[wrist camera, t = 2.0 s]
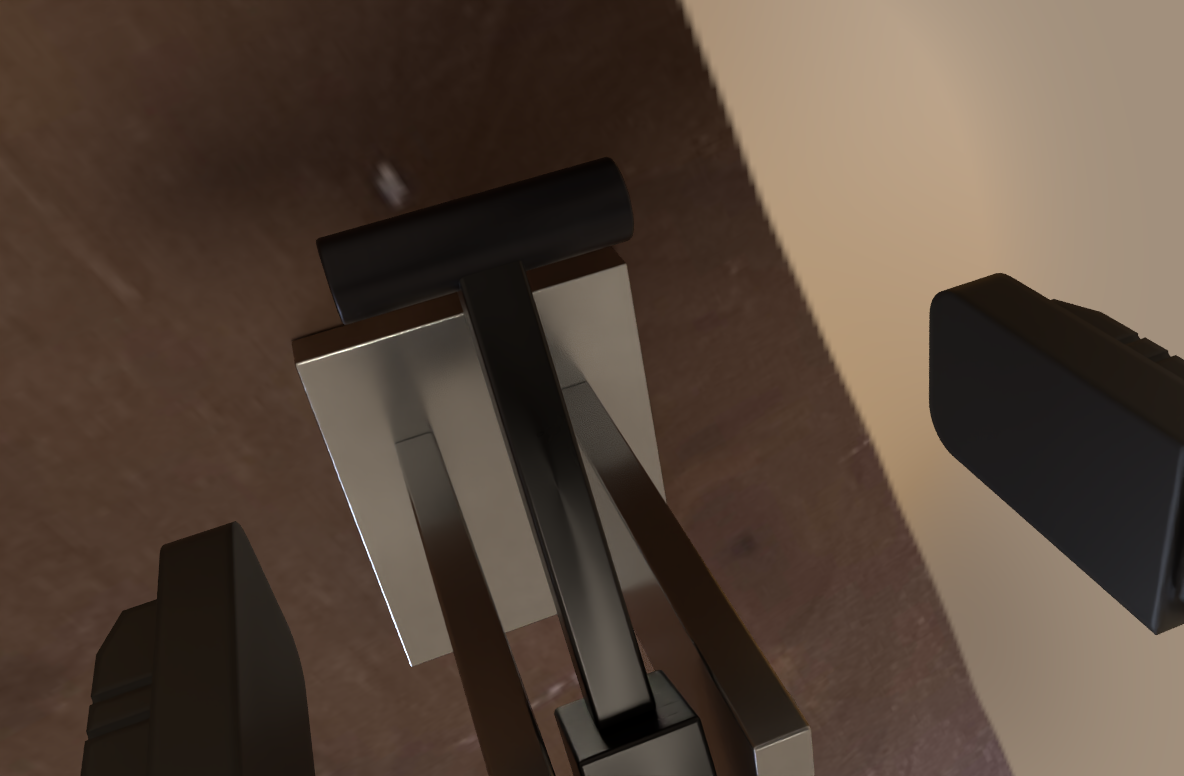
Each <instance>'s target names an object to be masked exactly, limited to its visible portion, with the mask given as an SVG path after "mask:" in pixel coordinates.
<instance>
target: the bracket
mask: <svg viewBox="0 0 1184 776" xmlns="http://www.w3.org/2000/svg"><path fill="white" fill-rule="evenodd" d="M526 274H527V277H528V280H529V284H530V287H531V290H532V294H533V297H534V300H535V303H536V307H537V310H538V313H539V317H540V320H541V323H542V327H543V330H544V333H545V337H546V340H547V343H548V347H549V350H550V353H551V357H552V360H553V363H554V367H555V370H556V373H557V377H558V380H559V383H560V387H561V390H562V393H563V397H564V400H565V403H566V407H567V410H568V413H569V417H570V420H571V423H572V427H573V430H574V433H575V437H576V440H577V443H578V447H579V450H580V453H581V457H582V460H583V463H584V467H585V470H586V473H587V477H588V480H589V483H590V487H591V490H592V493H593V497H594V500H595V503H596V507H597V510H598V513H599V517H600V520H601V523H602V527H603V530H604V533H605V537H606V540H607V543H608V547H609V550H610V553H611V557H612V560H613V563H614V567H615V570H616V573H617V576H618V580H619V583H620V586H621V590H622V593H623V596H624V600H625V603H626V606H627V610H628V613H629V616H630V620H631V623H632V626H633V629H634V631H635V633H636V635H637V637H638V639H639V641H640V643H641V645H642V646H643V648H644V650H645V652H646V654H647V656H648V658H649V660H650V662H651V664H652V666H653V668H654V670H655V671H657V670H662V671H663V672H664V673H665V674H666V676H667V677H668V678H669V679H670V681H671V682H672V683H673V685H674V686H675V687H676V688H677V690H678V691H679V692H680V693H681V695H682V696H683V697H684V699H685V700H686V701H687V702H688V704H689V705H690V706H691V707H692V709H693V710H694V711H695V713H696V714H697V715H698V716H699V718H700V719H701V722H702V726H703V729H704V733H705V736H706V739H707V743H708V746H709V750H710V753H711V756H712V760H713V763H714V767H715V770H716V773H717V776H815V775H814V763H813V748H812V738H811V727H810V726H809V724H808V722H807V721H806V719H805V718H804V716H803V715H802V713H801V711H800V709H799V708H798V706H797V704H796V702H795V701H794V699H793V697H792V696H791V695H790V693H789V692H788V691H787V690H786V688H785V687H784V685H783V684H782V682H781V681H780V679H779V677H778V676H777V674H776V673H775V671H774V670H773V668H772V667H771V665H770V663H769V662H768V660H767V659H766V657H765V656H764V654H763V653H762V651H761V650H760V648H759V646H758V645H757V643H756V642H755V640H754V639H753V637H752V636H751V634H750V632H749V631H748V629H747V628H746V626H745V625H744V623H743V622H742V620H741V618H740V617H739V615H738V614H737V612H736V611H735V609H734V608H733V606H732V604H731V603H730V601H729V600H728V598H727V597H726V595H725V594H724V592H723V591H722V589H721V587H720V586H719V584H718V583H717V581H716V580H715V578H714V577H713V575H712V573H711V572H710V570H709V569H708V567H707V566H706V564H705V563H704V561H703V559H702V558H701V556H700V555H699V553H698V552H697V550H696V549H695V547H694V546H693V544H692V542H691V541H690V539H689V538H688V536H687V535H686V533H685V532H684V530H683V528H682V527H681V525H680V524H679V522H678V521H677V519H676V518H675V516H674V514H673V513H672V511H671V510H670V508H669V507H668V505H667V501H666V495H665V489H664V483H663V477H662V471H661V465H660V459H659V453H658V447H657V441H656V435H655V429H654V423H653V417H652V411H651V405H650V399H649V393H648V387H647V381H646V375H645V369H644V363H643V357H642V351H641V345H640V339H639V333H638V327H637V321H636V316H635V310H634V304H633V298H632V292H631V286H630V280H629V274H628V268H627V264H626V262H625V261H624V260H623V259H622V258H621V257H620V256H619V255H618V253H617V252H616V251H615V250H614V249H613V248H612V247H611V246H609V247H605V248H602V249H599V250H595V251H592V252H589V253H585V254H582V255H579V256H575V257H572V258H569V259H565V260H562V261H559V262H555V263H552V264H549V265H545V266H542V267H538V268H535V269H532V270H528V271H526ZM292 349H293V355H294V362H295V366H296V369H297V371H298V374H299V377H300V379H301V382H302V384H303V387H304V390H305V392H306V395H307V397H308V400H309V403H310V405H311V408H312V411H313V413H314V416H315V418H316V421H317V424H318V426H319V429H320V431H321V434H322V437H323V439H324V442H325V444H326V447H327V450H328V452H329V455H330V457H331V460H332V463H333V465H334V468H335V470H336V473H337V476H338V478H339V481H340V483H341V486H342V489H343V491H344V494H345V496H346V499H347V502H348V504H349V507H350V510H351V512H352V515H353V517H354V520H355V523H356V525H357V528H358V530H359V533H360V536H361V538H362V541H363V543H364V546H365V549H366V551H367V554H368V556H369V559H370V562H371V564H372V567H373V569H374V572H375V575H376V577H377V580H378V582H379V585H380V588H381V590H382V593H383V596H384V598H385V601H386V603H387V606H388V609H389V611H390V614H391V616H392V619H393V622H394V624H395V627H396V629H397V632H398V635H399V637H400V640H401V642H402V645H403V648H404V650H405V653H406V655H407V658H408V661H409V663H410V665H411V666H416V665H418V664H421V663H424V662H427V661H429V660H432V659H435V658H438V657H440V656H443V655H446V654H449V653H452V652H453V653H454V656H455V660H456V663H457V667H458V670H459V674H460V677H461V681H462V684H463V688H464V691H465V695H466V698H467V702H468V705H469V709H470V712H471V716H472V719H473V723H474V726H475V730H476V733H477V737H478V740H479V744H480V747H481V751H482V754H483V758H484V761H485V765H486V768H487V772H488V775H489V776H555V773H554V770H553V767H552V764H551V761H550V759H549V756H548V753H547V750H546V747H545V745H544V742H543V739H542V736H541V733H540V730H539V728H538V725H537V722H536V719H535V716H534V713H533V711H532V708H531V705H530V702H529V699H528V696H527V694H526V691H525V688H524V685H523V682H522V680H521V677H520V674H519V671H518V668H517V665H516V663H515V660H514V657H513V654H512V651H511V648H510V646H509V643H508V640H507V637H506V634H505V633H507V632H510V631H512V630H515V629H518V628H521V627H523V626H526V625H529V624H532V623H535V622H537V621H540V620H543V619H546V618H548V617H551V616H554V615H557V611H556V608H555V604H554V601H553V598H552V595H551V592H550V588H549V585H548V582H547V579H546V576H545V572H544V569H543V566H542V563H541V559H540V556H539V553H538V550H537V547H536V543H535V540H534V537H533V534H532V530H531V527H530V524H529V521H528V518H527V514H526V511H525V508H524V505H523V502H522V498H521V495H520V492H519V489H518V485H517V482H516V479H515V476H514V473H513V469H512V466H511V463H510V460H509V456H508V453H507V450H506V447H505V444H504V440H503V437H502V434H501V431H500V428H499V424H498V421H497V418H496V415H495V411H494V408H493V405H492V402H491V399H490V395H489V392H488V389H487V386H486V382H485V379H484V376H483V373H482V370H481V366H480V363H479V360H478V357H477V354H476V350H475V347H474V344H473V341H472V337H471V334H470V331H469V328H468V325H467V321H466V318H465V315H464V312H463V309H462V305H461V302H460V299H459V296H458V292H455V293H451V294H448V295H445V296H441V297H438V298H435V299H431V300H428V301H425V302H421V303H418V304H415V305H411V306H408V307H405V308H401V309H398V310H395V311H391V312H388V313H385V314H381V315H378V316H375V317H371V318H368V319H364V320H361V321H358V322H354V323H351V324H348V325H344V326H341V327H338V328H334V329H331V330H328V331H324V332H321V333H318V334H314V335H311V336H308V337H304V338H301V339H298V340H294V341H292Z"/></svg>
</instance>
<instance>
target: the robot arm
mask: <svg viewBox="0 0 1184 776" xmlns="http://www.w3.org/2000/svg"><path fill="white" fill-rule="evenodd" d="M929 323H930V325H929V326H930V327H929V328H930V329H929V332H930V333H929V348H930V349H929V408H930V413H931V418H932V422H933V425H934V427H935V430H936V432H937V435H938V436H939V438H940V440H941V442H942V443H943V445H944V446H945V448H946V449H947V450H948V451H949V452H950V453H951V454H952V456H954V457H955V458H956V459H957V460H958V461H959V462H960V463H962V464H963V465H964V466H965V467H966V468H967V469H968V470H969V471H971V472H972V473H973V474H974V475H975V476H976V477H977V478H978V479H980V480H981V481H982V482H983V483H984V484H985V485H986V486H988V487H989V488H990V489H991V490H992V491H993V492H994V493H995V494H997V495H998V496H999V497H1000V498H1001V499H1002V500H1003V501H1005V502H1006V503H1007V504H1008V505H1009V506H1010V507H1012V509H1014V510H1015V511H1016V512H1017V513H1018V514H1019V515H1020V516H1022V517H1023V518H1024V519H1025V520H1026V521H1027V522H1028V523H1029V524H1031V525H1032V526H1033V527H1034V528H1035V529H1036V530H1037V531H1038V532H1040V533H1041V534H1042V535H1043V536H1044V537H1045V538H1047V539H1048V540H1049V541H1050V542H1051V543H1052V544H1053V545H1054V546H1056V547H1057V548H1058V549H1059V550H1060V551H1061V552H1062V553H1063V554H1065V555H1066V556H1067V557H1068V558H1069V559H1070V560H1071V561H1073V562H1074V563H1075V564H1076V565H1077V566H1078V567H1079V568H1080V569H1082V570H1083V571H1084V572H1085V573H1086V574H1087V575H1088V576H1090V577H1091V578H1092V579H1093V580H1094V581H1095V582H1096V583H1098V584H1099V585H1100V586H1101V587H1102V588H1103V589H1104V590H1105V591H1107V592H1108V593H1109V594H1110V595H1111V596H1112V597H1113V598H1115V599H1116V600H1117V601H1118V602H1119V603H1120V604H1121V605H1122V606H1123V607H1125V608H1126V609H1127V610H1128V611H1129V612H1130V613H1131V614H1132V615H1134V616H1135V617H1136V618H1137V619H1138V620H1139V621H1140V622H1142V623H1143V624H1144V625H1145V626H1146V627H1147V628H1148V629H1150V630H1151V631H1152V632H1153V633H1154V634H1155V635H1158V634H1160V633H1162V632H1165V631H1167V630H1170V629H1172V628H1175V627H1177V626H1180V625H1182V624H1184V360H1183V359H1182V358H1180V357H1178V356H1176V355H1175V356H1172V357H1170V355H1169V354H1168V350H1166V349H1164V348H1163V347H1161V346H1159V345H1157V344H1156V343H1154V342H1152V341H1150V340H1149V339H1147V338H1143V339H1140V338H1139V336H1138V333H1137V332H1135V331H1133V330H1131V329H1130V328H1128V327H1126V326H1124V325H1123V324H1121V323H1119V322H1117V321H1116V320H1114V319H1112V318H1110V317H1109V316H1107V315H1105V314H1103V313H1101V312H1099V311H1095V310H1091V309H1087V308H1084V307H1081V306H1077V305H1074V304H1070V303H1066V302H1063V301H1059V300H1056V299H1053V300H1049V299H1047V298H1046V297H1044V296H1042V295H1041V294H1039V293H1038V292H1036V291H1034V290H1032V289H1031V288H1029V287H1027V286H1026V285H1024V284H1022V283H1021V282H1019V281H1017V280H1016V279H1014V278H1012V277H1011V276H1008V275H1006V274H1003V273H996V274H993V275H990V276H987V277H984V278H981V279H978V280H975V281H972V282H969V283H966V284H962V285H959V286H956V287H953V288H950V289H947V290H944V291H941V292H939V293H938V294H936V295H935V297H934V298H933V300H932V303H931V307H930V322H929ZM91 698H92V701H93V704H92V705H90V707H89V715H88V722H87V730H86V733H87V735H88V740H87V741H85V746H84V753H83V761H82V769H81V776H315V770H314V761H313V752H312V743H311V733H310V724H309V715H308V706H307V697H306V688H305V681H304V675H303V671H302V666H301V662H300V658H299V655H298V651H297V648H296V645H295V642H294V639H293V636H292V634H291V631H290V629H289V627H288V624H287V622H286V620H285V618H284V616H283V613H282V611H281V609H280V607H279V605H278V603H277V600H276V598H275V596H274V594H273V592H272V590H271V588H270V585H269V583H268V581H267V579H266V577H265V575H264V572H263V570H262V568H261V566H260V564H259V562H258V559H257V557H256V555H255V553H254V551H253V549H252V547H251V544H250V542H249V540H248V538H247V536H246V534H245V532H244V530H243V529H242V527H241V526H240V525H239V524H238V523H237V522H236V521H235V522H232V523H229V524H226V525H223V526H220V527H217V528H213V529H210V530H207V531H204V532H201V533H198V534H195V535H192V536H189V537H186V538H183V539H180V540H177V541H174V542H171V543H168V544H165V545H163V546H162V548H161V550H160V560H159V576H158V592H157V599H156V600H153V601H150V602H147V603H144V604H142V605H139V606H136V607H133V608H130V609H127V610H124V611H122V613H121V614H120V616H119V618H118V619H117V621H116V623H115V624H114V626H113V628H112V629H111V631H110V633H109V634H108V636H107V638H106V639H105V641H104V643H103V644H102V646H101V648H100V649H99V651H98V653H97V654H96V661H95V669H94V676H93V684H92V692H91Z"/></svg>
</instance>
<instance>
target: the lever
mask: <svg viewBox="0 0 1184 776" xmlns="http://www.w3.org/2000/svg"><path fill="white" fill-rule="evenodd" d="M633 231H634V219H633V211H632V206H631V201H630V197H629V193H628V190H627V187H626V184H625V182H624V179H623V177H622V174H621V172H620V170H619V169H618V167H617V165H616V164H615V162H614V161H613V160H612V159H611V158H608V157H604V158H601V159H597V160H594V161H590V162H587V163H583V164H579V165H576V166H572V167H569V168H565V169H562V170H558V171H555V172H551V173H548V174H544V175H541V176H537V177H533V178H530V179H526V180H523V181H519V182H516V183H512V184H509V185H505V186H502V187H498V188H495V189H491V190H487V191H484V192H480V193H477V194H473V195H470V196H466V197H463V198H459V199H456V200H452V201H449V202H445V203H441V204H438V205H434V206H431V207H427V208H424V209H420V210H417V211H413V212H410V213H406V214H403V215H399V216H395V217H392V218H388V219H385V220H381V221H378V222H374V223H371V224H367V225H364V226H360V227H357V228H353V229H349V230H346V231H342V232H339V233H335V234H332V235H328V236H325V237H321V238H318V239H317V240H316V245H317V249H318V253H319V256H320V259H321V263H322V266H323V269H324V272H325V275H326V278H327V281H328V284H329V288H330V290H331V293H332V296H333V299H334V302H335V305H336V308H337V311H338V313H339V316H340V318H341V321H342V322H343V323H344V324H350V323H354V322H357V321H360V320H364V319H367V318H370V317H374V316H377V315H380V314H384V313H387V312H390V311H394V310H397V309H401V308H404V307H407V306H411V305H414V304H417V303H421V302H424V301H427V300H431V299H434V298H437V297H441V296H444V295H447V294H451V293H454V292H458V296H459V299H460V302H461V305H462V309H463V312H464V315H465V318H466V321H467V325H468V328H469V331H470V334H471V337H472V341H473V344H474V347H475V350H476V354H477V357H478V360H479V363H480V366H481V370H482V373H483V376H484V379H485V382H486V386H487V389H488V392H489V395H490V399H491V402H492V405H493V408H494V411H495V415H496V418H497V421H498V424H499V428H500V431H501V434H502V437H503V440H504V444H505V447H506V450H507V453H508V456H509V460H510V463H511V466H512V469H513V473H514V476H515V479H516V482H517V485H518V489H519V492H520V495H521V498H522V502H523V505H524V508H525V511H526V514H527V518H528V521H529V524H530V527H531V530H532V534H533V537H534V540H535V543H536V547H537V550H538V553H539V556H540V559H541V563H542V566H543V569H544V572H545V576H546V579H547V582H548V585H549V588H550V592H551V595H552V598H553V601H554V604H555V608H556V611H557V614H558V617H559V621H560V624H561V627H562V630H563V633H564V637H565V640H566V643H567V646H568V650H569V653H570V656H571V659H572V662H573V666H574V669H575V672H576V675H577V678H578V682H579V685H580V688H581V691H582V695H583V698H582V699H580V700H577V701H575V702H572V703H569V704H567V705H564V706H561V707H559V708H557V709H555V713H554V715H555V718H556V721H557V724H558V727H559V731H560V734H561V737H562V740H563V743H564V746H565V750H566V753H567V756H568V759H569V762H570V765H571V769H572V772H573V775H574V776H717V773H716V770H715V767H714V763H713V760H712V756H711V753H710V750H709V746H708V743H707V739H706V736H705V733H704V729H703V726H702V722H701V719H700V718H699V716H698V715H697V714H696V713H695V711H694V710H693V709H692V707H691V706H690V705H689V704H688V702H687V701H686V700H685V699H684V697H683V696H682V695H681V693H680V692H679V691H678V690H677V688H676V687H675V686H674V685H673V683H672V682H671V681H670V679H669V678H668V677H667V676H666V674H665V673H664V672H663V671H662V670H657V671H654V672H651V673H649V674H647V673H646V670H645V666H644V663H643V660H642V656H641V653H640V650H639V646H638V643H637V640H636V636H635V633H634V630H633V626H632V623H631V620H630V616H629V613H628V610H627V606H626V603H625V600H624V596H623V593H622V590H621V586H620V583H619V580H618V576H617V573H616V570H615V567H614V563H613V560H612V557H611V553H610V550H609V547H608V543H607V540H606V537H605V533H604V530H603V527H602V523H601V520H600V517H599V513H598V510H597V507H596V503H595V500H594V497H593V493H592V490H591V487H590V483H589V480H588V477H587V473H586V470H585V467H584V463H583V460H582V457H581V453H580V450H579V447H578V443H577V440H576V437H575V433H574V430H573V427H572V423H571V420H570V417H569V413H568V410H567V407H566V403H565V400H564V397H563V393H562V390H561V387H560V383H559V380H558V377H557V373H556V370H555V367H554V363H553V360H552V357H551V353H550V350H549V347H548V343H547V340H546V337H545V333H544V330H543V327H542V323H541V320H540V317H539V313H538V310H537V307H536V303H535V300H534V297H533V294H532V290H531V287H530V284H529V280H528V277H527V274H526V271H528V270H531V269H534V268H538V267H541V266H544V265H548V264H551V263H554V262H558V261H561V260H565V259H568V258H571V257H575V256H578V255H581V254H585V253H588V252H591V251H595V250H598V249H601V248H605V247H608V246H611V245H615V244H618V243H621V242H625V241H628V240H630V239H631V238H632V236H633Z"/></svg>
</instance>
